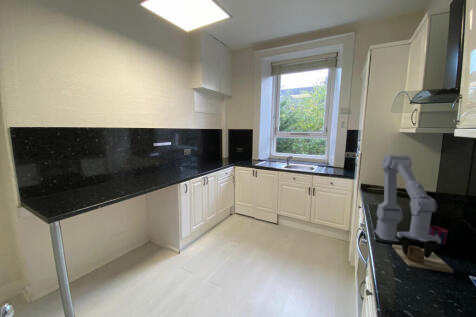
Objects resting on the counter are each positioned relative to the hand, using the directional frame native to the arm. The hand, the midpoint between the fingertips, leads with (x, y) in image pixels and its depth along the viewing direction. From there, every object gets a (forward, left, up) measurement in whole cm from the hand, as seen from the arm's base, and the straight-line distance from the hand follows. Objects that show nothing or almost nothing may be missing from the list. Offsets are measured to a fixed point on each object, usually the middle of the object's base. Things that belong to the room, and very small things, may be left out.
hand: (415, 255), depth 84 cm
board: (-3, +3, -3) cm, 6 cm away
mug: (-24, +21, -3) cm, 32 cm away
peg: (0, 0, -3) cm, 3 cm away
